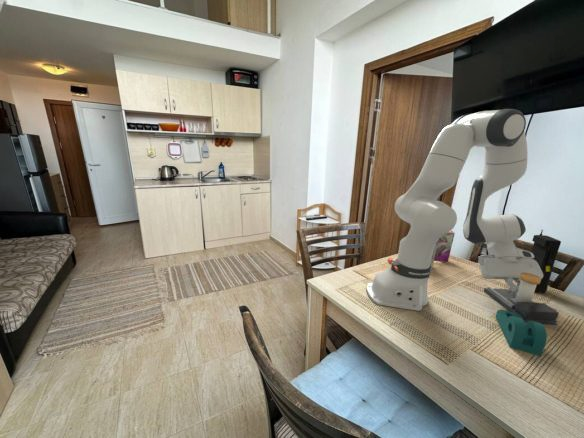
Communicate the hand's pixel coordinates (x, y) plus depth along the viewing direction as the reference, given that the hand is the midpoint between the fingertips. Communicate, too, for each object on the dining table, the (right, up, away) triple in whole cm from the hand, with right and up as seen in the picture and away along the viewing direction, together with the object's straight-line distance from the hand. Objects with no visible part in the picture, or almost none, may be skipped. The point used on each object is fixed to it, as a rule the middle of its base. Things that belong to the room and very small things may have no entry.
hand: (518, 291), depth 88 cm
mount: (0, -6, +1) cm, 6 cm away
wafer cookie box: (-7, +5, +39) cm, 40 cm away
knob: (0, -5, -1) cm, 5 cm away
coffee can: (-19, +3, +32) cm, 37 cm away
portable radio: (+18, -3, +13) cm, 23 cm away
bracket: (-13, -10, -12) cm, 20 cm away
